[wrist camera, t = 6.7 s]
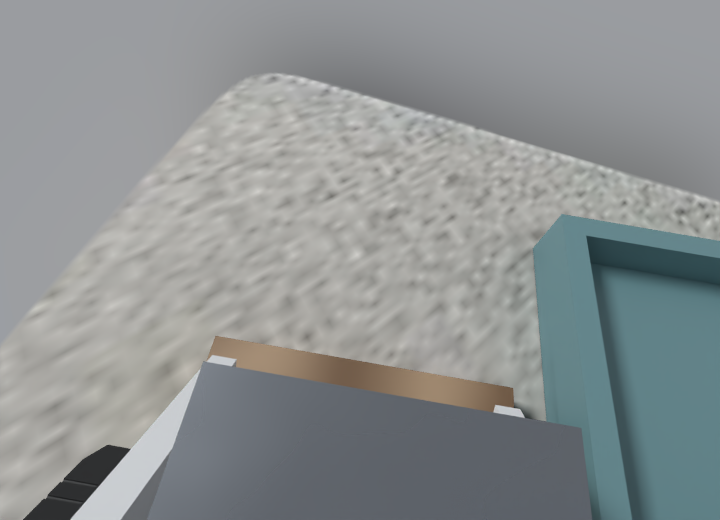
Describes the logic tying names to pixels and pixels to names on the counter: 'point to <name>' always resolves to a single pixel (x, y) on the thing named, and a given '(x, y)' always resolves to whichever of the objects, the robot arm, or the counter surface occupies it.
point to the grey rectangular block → (361, 457)
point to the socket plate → (363, 375)
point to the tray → (634, 363)
